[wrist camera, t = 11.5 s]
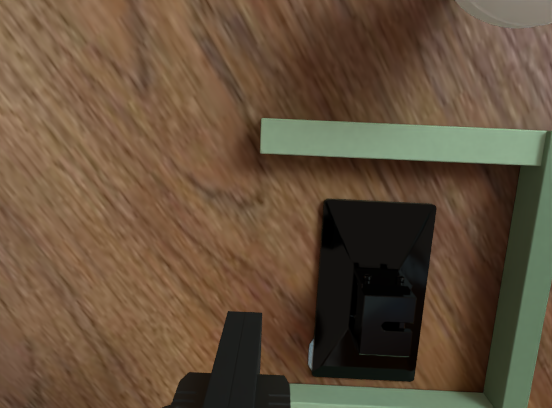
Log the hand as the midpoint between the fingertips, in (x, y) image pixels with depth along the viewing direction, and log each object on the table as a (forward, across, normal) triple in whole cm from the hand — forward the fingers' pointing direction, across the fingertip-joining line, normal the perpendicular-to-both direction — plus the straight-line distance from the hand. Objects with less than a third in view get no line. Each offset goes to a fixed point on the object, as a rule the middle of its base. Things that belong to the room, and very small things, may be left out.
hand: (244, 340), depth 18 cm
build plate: (+9, +8, -2) cm, 12 cm away
